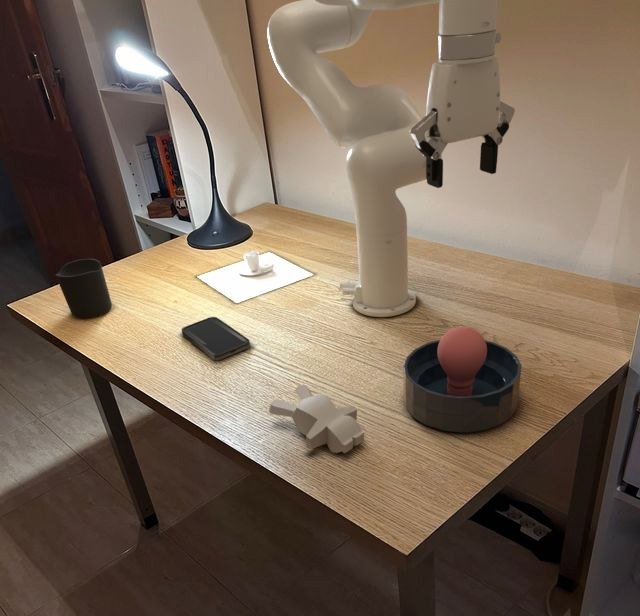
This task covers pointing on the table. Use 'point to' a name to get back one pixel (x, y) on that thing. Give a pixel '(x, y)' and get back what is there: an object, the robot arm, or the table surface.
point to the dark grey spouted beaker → (84, 288)
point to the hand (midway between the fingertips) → (461, 178)
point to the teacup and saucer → (254, 276)
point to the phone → (215, 338)
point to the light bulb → (461, 358)
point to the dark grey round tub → (461, 411)
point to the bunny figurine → (321, 421)
